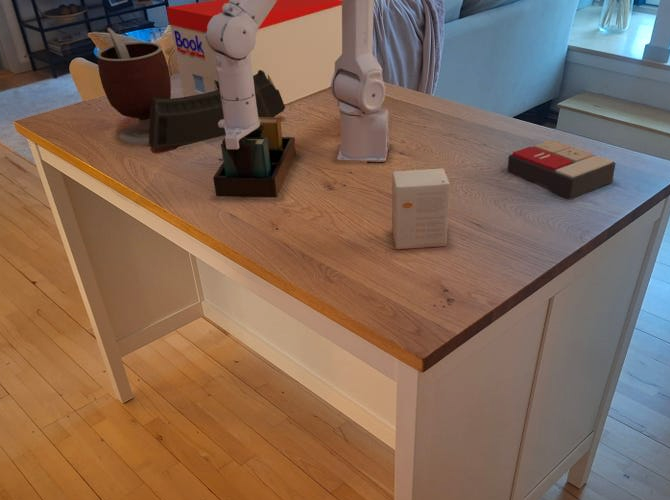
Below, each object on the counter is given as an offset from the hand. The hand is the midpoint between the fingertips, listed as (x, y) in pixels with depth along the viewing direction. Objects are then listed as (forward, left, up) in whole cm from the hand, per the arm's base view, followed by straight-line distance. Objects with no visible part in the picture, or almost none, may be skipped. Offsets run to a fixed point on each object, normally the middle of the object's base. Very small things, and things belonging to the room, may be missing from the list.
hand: (248, 172), depth 117 cm
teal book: (0, 0, -3) cm, 3 cm away
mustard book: (0, -12, -3) cm, 12 cm away
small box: (-31, +16, -4) cm, 35 cm away
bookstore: (+9, -54, -4) cm, 55 cm away
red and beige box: (-55, -8, -4) cm, 56 cm away
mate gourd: (+30, -27, -4) cm, 41 cm away
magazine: (+13, -26, -4) cm, 29 cm away
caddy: (0, -6, -3) cm, 7 cm away
